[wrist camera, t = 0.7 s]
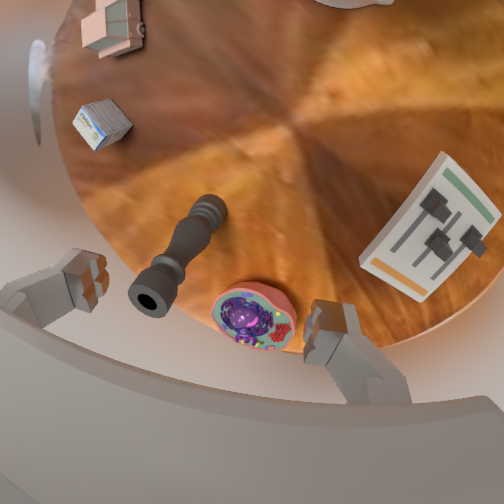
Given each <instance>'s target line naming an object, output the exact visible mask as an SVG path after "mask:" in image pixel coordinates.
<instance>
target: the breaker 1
mask: <svg viewBox="0 0 504 504" xmlns="http://www.w3.org/2000/svg"><path fill="white" fill-rule="evenodd" d="M447 202H448V200H447V199H446V198H445V197H444V196H443V195H441V194H440V193H439V192H438V191H437V190H436V189H435V188H434V187H433V188H432V189H431V191H430V192H429V193H428V194H427V196H426V197H425V198H424V200H423V201H422V202H421V204H420V206H421V207H422V208H423V209H424V210H426V211H427V212H428V213H429V214H430V215H432V216H433V217H434V218H435V217H436V218H437V219H438V220H439V221H440V222H441V223H443V224H444V223H445V222H446V220H447V219H448V218H449V217H450V215H451V214H452V212H451V211H450V210H449V208H448V207H447V206H446V204H447Z"/></svg>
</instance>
